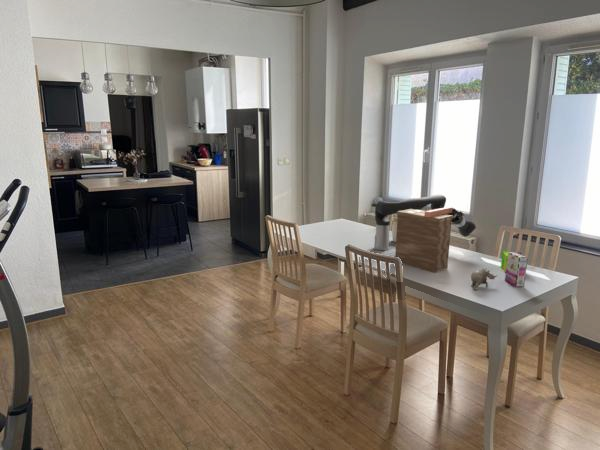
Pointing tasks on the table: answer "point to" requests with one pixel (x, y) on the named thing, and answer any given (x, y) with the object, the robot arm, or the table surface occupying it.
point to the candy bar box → (516, 269)
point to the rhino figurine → (481, 278)
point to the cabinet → (423, 239)
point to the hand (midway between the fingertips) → (446, 208)
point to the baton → (438, 211)
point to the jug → (394, 229)
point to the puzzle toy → (505, 260)
